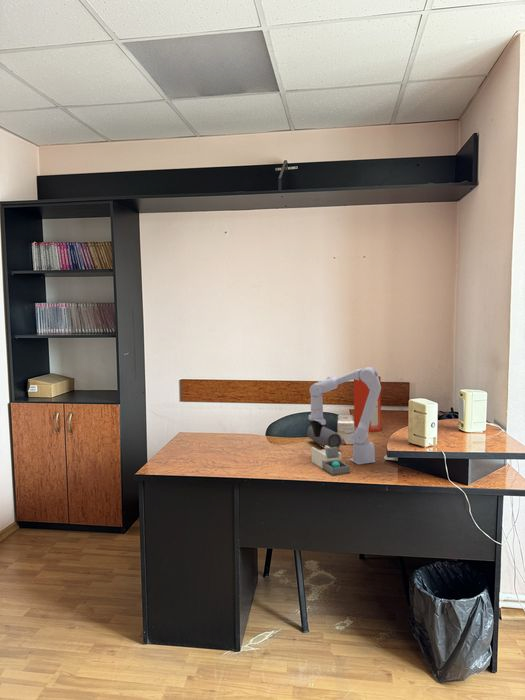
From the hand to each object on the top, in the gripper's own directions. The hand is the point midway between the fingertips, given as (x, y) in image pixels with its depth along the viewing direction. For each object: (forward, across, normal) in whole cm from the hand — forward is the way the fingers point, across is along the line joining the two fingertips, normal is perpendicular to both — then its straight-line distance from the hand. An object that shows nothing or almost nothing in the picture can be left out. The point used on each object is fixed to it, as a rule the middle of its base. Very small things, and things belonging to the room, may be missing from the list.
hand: (317, 436), depth 229 cm
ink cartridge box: (+11, -17, +25) cm, 32 cm away
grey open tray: (+10, +21, -1) cm, 23 cm away
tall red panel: (+11, -41, +53) cm, 68 cm away
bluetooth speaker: (+11, -17, +12) cm, 23 cm away
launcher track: (+10, +11, -1) cm, 15 cm away
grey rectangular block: (+5, +17, -1) cm, 17 cm away
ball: (+8, +20, -1) cm, 22 cm away
